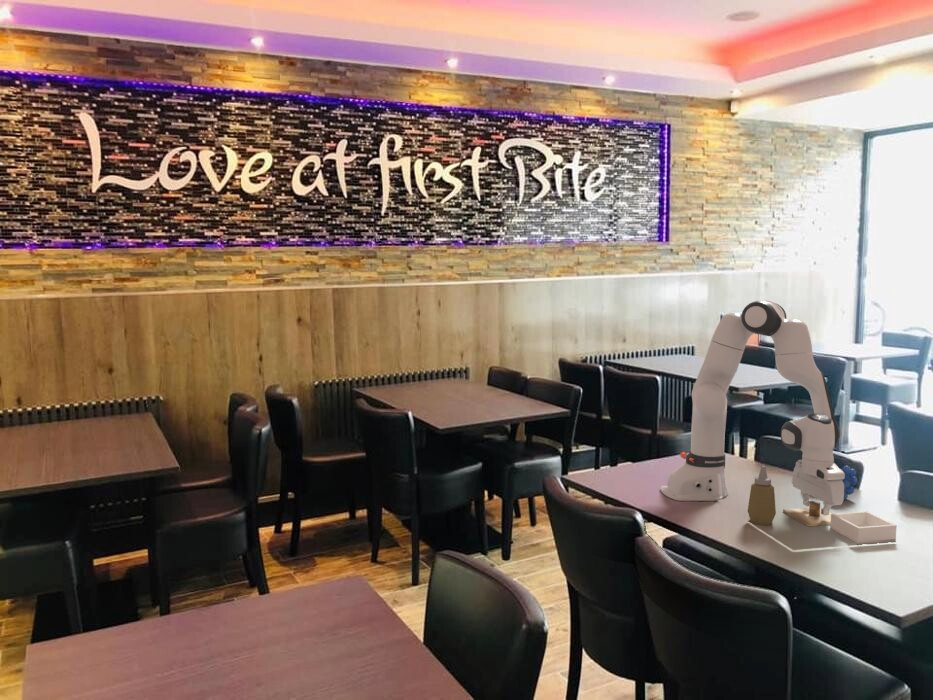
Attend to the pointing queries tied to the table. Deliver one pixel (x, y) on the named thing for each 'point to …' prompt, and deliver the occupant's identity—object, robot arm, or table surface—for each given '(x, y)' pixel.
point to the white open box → (863, 527)
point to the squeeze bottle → (762, 500)
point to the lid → (810, 515)
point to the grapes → (849, 481)
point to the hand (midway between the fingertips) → (815, 509)
